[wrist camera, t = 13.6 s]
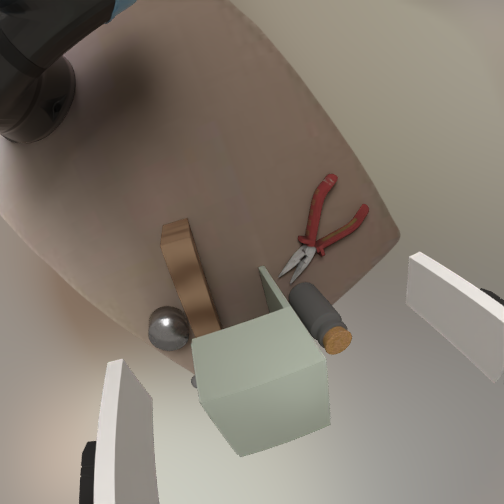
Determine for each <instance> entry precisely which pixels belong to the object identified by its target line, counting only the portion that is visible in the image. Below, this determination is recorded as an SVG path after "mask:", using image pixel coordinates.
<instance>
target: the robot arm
mask: <svg viewBox="0 0 504 504" xmlns="http://www.w3.org/2000/svg"><path fill="white" fill-rule="evenodd" d="M136 1H137V0H0V134H1V135H2V136H3V137H5V138H6V139H7V140H9V141H12V142H15V143H30V142H35V141H38V140H40V139H42V138H44V137H46V136H47V135H49V134H50V133H51V132H52V131H54V130H55V129H56V128H57V126H58V125H59V124H60V123H61V122H62V120H63V119H64V117H65V116H66V114H67V112H68V110H69V108H70V105H71V103H72V100H73V96H74V91H75V75H74V71H73V68H72V66H71V64H70V62H69V61H68V60H67V59H66V58H65V57H64V56H62V55H63V54H65V53H66V52H67V51H68V50H69V49H71V48H72V47H73V46H74V45H76V44H77V43H78V42H79V41H81V40H82V39H83V38H85V37H86V36H87V35H89V34H90V33H91V32H93V31H94V30H96V29H97V28H98V27H100V26H101V25H103V24H107V23H109V22H110V21H112V19H113V18H114V17H115V16H116V15H118V14H119V13H121V12H122V11H124V10H125V9H127V8H128V7H130V6H131V5H133V4H134V3H135V2H136ZM406 304H407V305H408V306H409V307H410V308H411V309H413V310H414V311H415V312H416V313H417V314H418V315H420V316H421V317H422V318H423V319H424V320H426V321H427V322H428V323H429V324H430V325H431V326H432V327H434V328H435V329H436V330H437V331H438V332H439V333H440V334H441V335H443V336H444V337H445V338H446V339H447V340H448V341H449V342H450V343H451V344H453V345H454V346H455V347H456V348H457V349H458V350H459V351H460V352H461V353H463V354H464V355H465V356H466V357H467V358H468V359H469V360H470V361H471V362H472V363H473V364H474V365H475V366H476V367H477V368H478V369H480V370H481V371H482V372H483V373H484V374H485V375H486V376H487V377H488V378H489V379H490V380H491V381H492V382H493V383H495V382H496V381H497V380H498V379H499V378H500V377H501V376H502V375H503V374H504V300H503V299H500V297H498V296H497V295H496V294H494V293H493V292H491V291H488V290H485V289H482V288H481V289H478V288H477V287H475V286H474V285H472V284H471V283H469V282H468V281H466V280H464V279H463V278H462V277H460V276H459V275H457V274H455V273H454V272H452V271H451V270H449V269H448V268H446V267H444V266H443V265H441V264H439V263H438V262H436V261H434V260H433V259H431V258H430V257H428V256H426V255H425V254H423V253H421V252H418V253H416V254H414V255H412V256H410V257H409V265H408V281H407V294H406ZM152 411H153V409H152V397H151V396H150V395H149V393H148V392H147V391H146V389H145V388H144V387H143V386H142V384H141V383H140V382H139V380H138V379H137V378H136V376H135V375H134V373H133V372H132V371H131V370H130V368H129V366H128V365H127V364H126V362H125V361H124V359H119V360H115V361H111V362H108V363H107V369H106V374H105V380H104V386H103V392H102V400H101V406H100V415H99V422H98V431H97V441H91V442H87V444H86V447H85V449H84V451H83V453H82V462H81V466H82V468H81V474H80V475H81V477H80V495H79V504H159V498H158V489H157V479H156V468H155V454H154V438H153V412H152Z"/></svg>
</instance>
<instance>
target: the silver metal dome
mask: <svg viewBox="0 0 504 504" xmlns="http://www.w3.org/2000/svg"><path fill="white" fill-rule="evenodd" d="M188 338H189V332H188V324H187V318H186V316H185V314H184V313H183V312H182V311H181V310H179V309H177V308H175V307H170V306H165V307H160V308H158V309H156V310H155V311H154V312H153V313H152V314H151V316H150V320H149V339H150V341H151V343H152V344H153V345H154V346H155V347H157V348H159V349H162V350H166V351H173V350H177V349H179V348H181V347H183V346H184V345H185V344H186V343H187V341H188Z"/></svg>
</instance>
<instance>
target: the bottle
mask: <svg viewBox="0 0 504 504" xmlns="http://www.w3.org/2000/svg"><path fill="white" fill-rule="evenodd" d="M289 303H290V305H291V306H292V308H293V309H294V311H295V312H296V314H297V315H298V317H299V318H300V320H301V321H302V323H303V324H304V326H305V327H306V329H307V330H308V332H309V333H310V334H311V336H312V337H313V338H314V339H316V340H318V342H319V344H320V345H321V346H322V347H323V348H325V350H326V352H327V353H329V354H338V353H340V352H342V351H343V350H345V349H346V348H347V347H348V346H349V344H350V343H351V339H352V335H351V333H350V332H349V331H347V327H346V325H345V324H344V323H343V322H342V319H341V316H340V315H339V314H338V312H337V311H336V310H335V309H334V308H333V306H332V305H331V304H330V303H329V302H328V301H327V300H326V298H325V297H324V296H323V295H322V294H321V293H320V292H319V291H318V289H317V288H316V287H315V286H314V285H313V284H311V283H307V282H305V283H300V284H298V285H297V286H295V287H294V288H293V289H292V290H291V292H290V294H289Z"/></svg>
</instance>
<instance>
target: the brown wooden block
mask: <svg viewBox="0 0 504 504" xmlns="http://www.w3.org/2000/svg"><path fill="white" fill-rule="evenodd" d="M160 247H161V250H162V253H163V256H164V258H165V261H166V264H167V267H168V269H169V272H170V275H171V278H172V280H173V283H174V285H175V288H176V291H177V293H178V296H179V298H180V301H181V303H182V306H183V308H184V311H185V313H186V316H187V318H188V321H189V323H190V325H191V328H192V330H193V333H194V335H195V337H196V338H197V337H200V336H204V335H207V334H210V333H213V332H216V331H219V330H222V329H223V328H222V325H221V322H220V320H219V317H218V314H217V311H216V308H215V305H214V302H213V299H212V296H211V293H210V290H209V287H208V284H207V280H206V277H205V274H204V271H203V268H202V265H201V262H200V258H199V255H198V252H197V249H196V245H195V242H194V239H193V235H192V232H191V229H190V225H189V222H188V218H186V219H182V220H179V221H176V222H172V223H169V224H166V225H163V228H162V236H161V243H160Z"/></svg>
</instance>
